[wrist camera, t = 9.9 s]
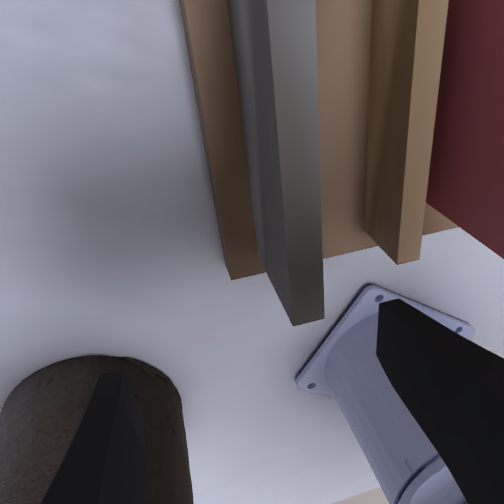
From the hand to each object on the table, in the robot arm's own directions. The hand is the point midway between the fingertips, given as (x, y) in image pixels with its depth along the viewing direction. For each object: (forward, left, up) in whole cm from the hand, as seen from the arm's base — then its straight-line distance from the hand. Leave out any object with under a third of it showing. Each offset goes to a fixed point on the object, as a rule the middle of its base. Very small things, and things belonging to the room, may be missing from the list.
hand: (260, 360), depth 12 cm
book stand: (-5, -9, -9) cm, 14 cm away
